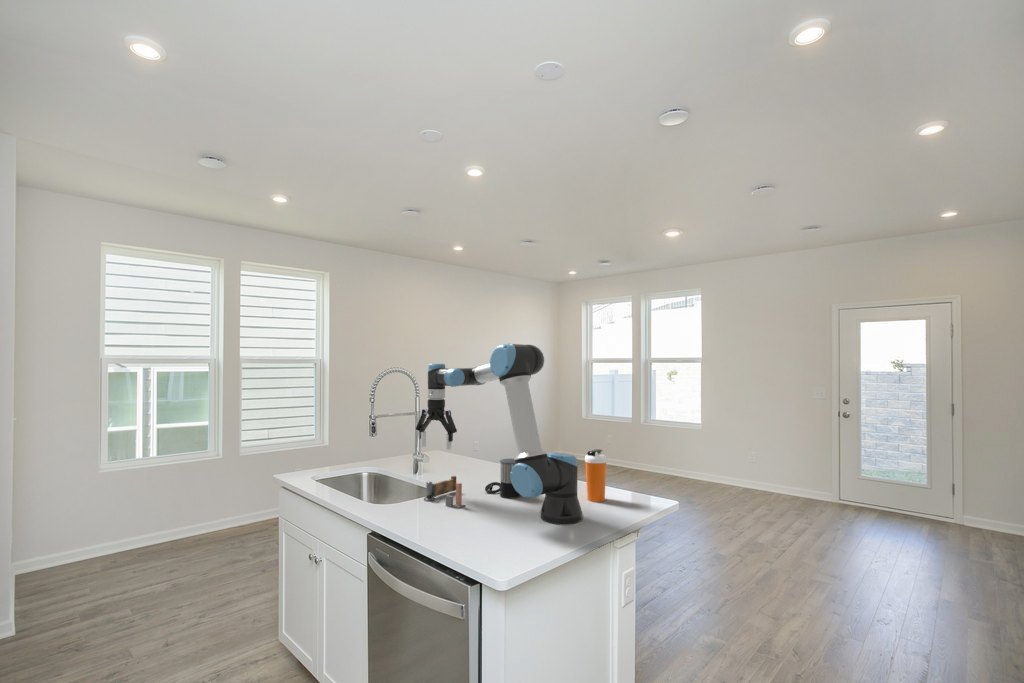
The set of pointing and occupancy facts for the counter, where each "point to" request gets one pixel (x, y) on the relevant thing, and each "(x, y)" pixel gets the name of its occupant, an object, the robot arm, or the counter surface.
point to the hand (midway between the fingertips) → (435, 448)
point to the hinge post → (429, 492)
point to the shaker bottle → (595, 475)
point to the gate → (444, 487)
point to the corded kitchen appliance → (504, 481)
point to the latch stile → (458, 497)
